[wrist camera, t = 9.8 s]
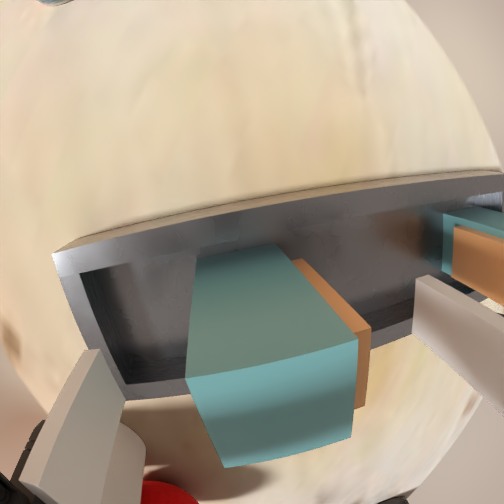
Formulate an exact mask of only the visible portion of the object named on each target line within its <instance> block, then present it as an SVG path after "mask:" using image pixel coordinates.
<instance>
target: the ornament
mask: <svg viewBox="0 0 504 504" xmlns="http://www.w3.org/2000/svg"><path fill="white" fill-rule="evenodd" d="M140 504H199V503H198V502H197V501H196V500H195V499H194V498H193V497H192V496H191V495H190V494H189V493H187V492H186V491H184V490H182V489H181V488H179V487H177V486H175V485H172V484H169V483H165V482H159V481H143V482H142V491H141V501H140Z"/></svg>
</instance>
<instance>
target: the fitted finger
mask: <svg viewBox="0 0 504 504" xmlns="http://www.w3.org/2000/svg"><path fill="white" fill-rule="evenodd" d="M442 271H443V272H445V273H447V274H449V275H451V277H452V278H454V279H456V280H458V281H459V282H461V283H463V284H465V285H467V286H469V287H470V288H472V289H474V290H476V291H478V292H479V293H481V294H483V295H485V296H487V297H488V298H490V299H492V300H493V301H495V302H497V303H499V304H500V305H502V306H504V213H502V212H498V211H494V210H490V209H486V208H482V207H478V206H477V207H472V208H467V209H462V210H457V211H453V212H448V213H443V256H442Z"/></svg>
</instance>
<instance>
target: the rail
mask: <svg viewBox="0 0 504 504" xmlns="http://www.w3.org/2000/svg"><path fill="white" fill-rule="evenodd" d="M477 206H478V207H482V208H486V209H490V210H494V211H498V212H502V213H504V173H502V172H494V171H486V170H473V171H460V172H447V173H436V174H426V175H416V176H406V177H397V178H389V179H381V180H373V181H365V182H357V183H350V184H343V185H336V186H329V187H322V188H316V189H309V190H303V191H297V192H291V193H285V194H279V195H273V196H267V197H262V198H256V199H251V200H245V201H240V202H235V203H230V204H224V205H219V206H214V207H209V208H205V209H200V210H195V211H190V212H186V213H181V214H176V215H172V216H167V217H163V218H158V219H154V220H150V221H145V222H141V223H137V224H133V225H129V226H125V227H121V228H117V229H113V230H109V231H105V232H101V233H97V234H93V235H89V236H86V237H82V238H78V239H75V240H74V241H72V242H70V243H69V244H67V245H65V246H64V247H62V248H61V249H59V250H57V251H56V252H54V253H52V256H53V259H54V263H55V266H56V269H57V272H58V275H59V278H60V281H61V284H62V286H63V289H64V292H65V295H66V297H67V300H68V303H69V305H70V308H71V310H72V313H73V315H74V318H75V320H76V322H77V325H78V327H79V329H80V332H81V334H82V336H83V338H84V341H85V343H86V345H87V347H88V349H89V350H91V349H100V350H101V352H102V354H103V356H104V358H105V360H106V363H107V365H108V367H109V369H110V371H111V373H112V375H113V377H114V379H115V381H116V382H117V384H118V386H119V388H120V390H121V392H122V394H123V396H124V397H125V399H126V400H125V401H128V400H141V399H152V398H162V397H170V396H178V395H186V394H191V392H190V390H189V387H188V385H187V382H186V380H185V372H186V358H187V346H188V334H189V324H190V313H191V304H192V294H193V285H194V277H195V268H196V260H197V259H199V258H204V257H209V256H214V255H219V254H224V253H229V252H234V251H239V250H245V249H250V248H255V247H260V246H265V245H270V244H275V243H276V245H277V246H278V247H279V248H280V249H281V250H282V251H283V252H284V254H285V255H286V256H287V257H288V258H289V259H290V260H296V259H301V258H303V259H304V260H305V261H306V262H307V263H308V264H309V265H310V266H311V267H312V268H313V269H314V270H315V271H316V272H317V273H318V274H319V275H320V276H321V277H322V278H323V279H324V280H325V281H326V282H327V283H328V284H329V285H330V286H331V287H332V288H333V289H334V290H335V291H336V292H337V293H338V294H339V295H340V296H341V297H342V298H343V299H344V300H345V301H346V302H347V303H348V304H349V305H350V306H351V307H352V308H353V309H354V310H355V311H356V312H357V313H358V314H359V315H360V316H361V317H362V318H363V319H364V320H365V321H366V322H367V323H368V324H369V325H370V326H371V345H370V350H371V349H374V348H376V347H379V346H382V345H384V344H387V343H390V342H392V341H395V340H398V339H400V338H403V337H405V336H408V335H410V334H412V324H413V313H414V300H415V283H416V278H419V277H422V276H425V275H430V276H432V277H434V278H436V279H438V280H440V281H441V282H443V283H445V284H447V285H449V286H451V287H452V288H454V289H456V290H458V291H460V292H461V293H463V294H465V295H467V296H468V297H470V298H472V299H474V300H475V301H477V302H481V301H483V300H485V299H487V298H488V297H487V296H485V295H483V294H481V293H479V292H478V291H476V290H474V289H472V288H470V287H469V286H467V285H465V284H463V283H461V282H459V281H458V280H456V279H454V278H452V277H451V275H449V274H447V273H445V272H443V271H442V256H443V213H448V212H453V211H457V210H462V209H467V208H472V207H477Z"/></svg>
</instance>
